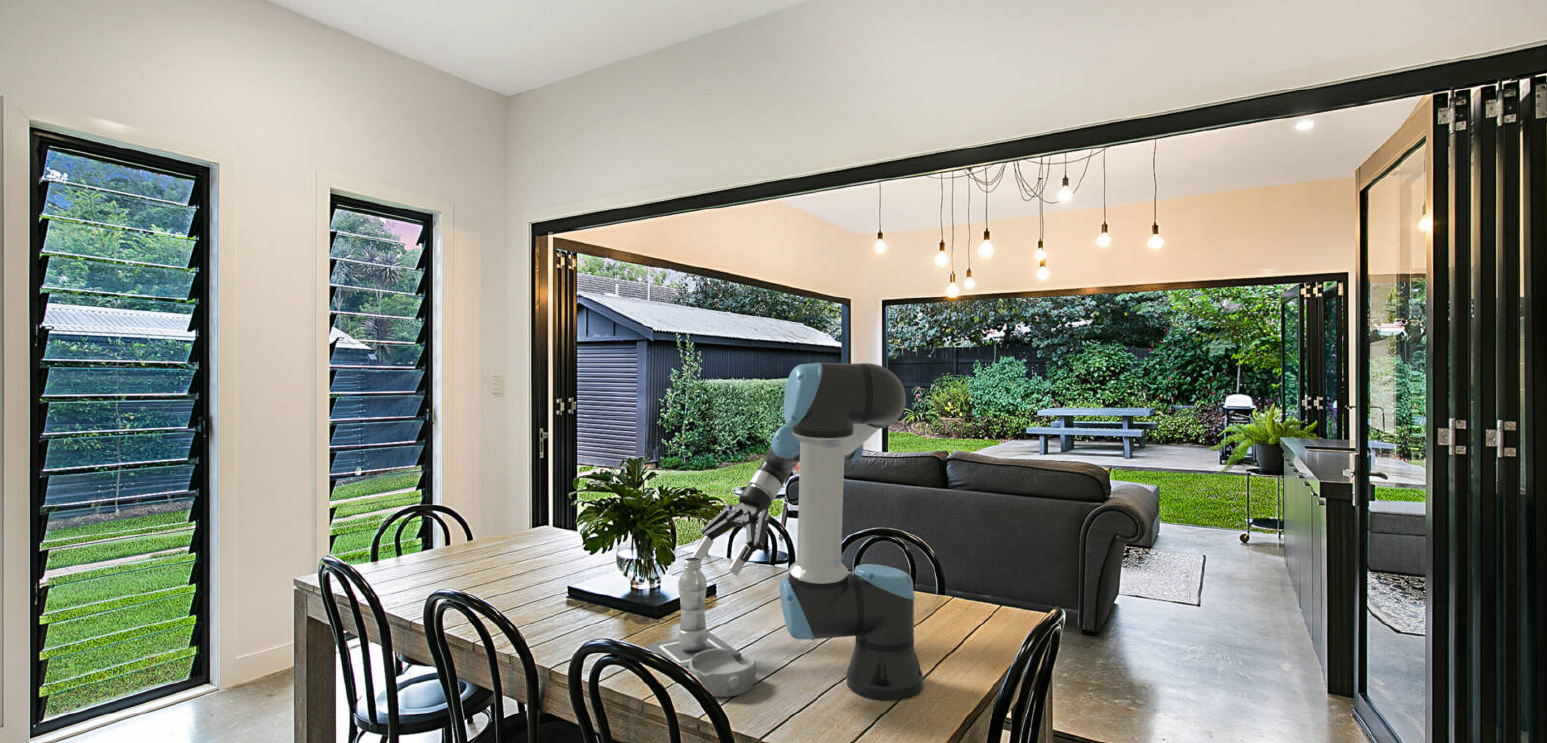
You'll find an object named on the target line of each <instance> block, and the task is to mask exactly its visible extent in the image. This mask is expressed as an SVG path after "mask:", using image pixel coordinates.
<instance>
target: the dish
mask: <svg viewBox="0 0 1547 743" xmlns="http://www.w3.org/2000/svg"><path fill="white" fill-rule="evenodd" d="M756 664H757V663H756V660H755V658H754V657H751V658H750V659H749V661H748V662H747V663H746V664H742V663H739V662H738V660H735V659H734V657H733V656H732V655H731V654H730V652H729V650H728V649H710V650H705V651H702V652H700V653H697V654H695V655H694V657H692V658H691V659H690V662H689V671H688V673H689V672H691V673H692V674H693V675H695V676H696V677H697V678H698V679H699V680H700V681H701V683H702V684H703V685H704V686H705V687H706V688H707V689H708V690H709V691H710V692H711V693H712V694H713V695H714V696H713V697H716V698H717V697H719V698H724V697H725V698H727V697H736V696H739V695H742V694H745V693H747V692H748V691H750V690H751V689H752V688H753V686H754V683H755V678H756V672H757V671H756V670H757V668H756V667H757V666H756Z"/></svg>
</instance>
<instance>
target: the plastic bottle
mask: <svg viewBox="0 0 1547 743" xmlns="http://www.w3.org/2000/svg"><path fill="white" fill-rule="evenodd" d="M701 568H702V561H701V559H700V558H691V557H687V558H684V564H683V569H685V570H684V572H682V575H681V576H680V577H679V579H678V583H677V584H678V586H677V587H678V588H677V589H678V595H679V600H680V601H679V602H680V623H679V624H680V625H679V626H680V627H679V630H678V638H677V639H678V640H679V645H680V647H681V648H682V649H683V650H686V651H697V650H701V649H703V648H704V647H705V646H706V644H707V640H708V634H707V632H708V629H707V622H706V614H705V613H706V612H705V611H706V610H705V609H706V595H707V587H708V581H707V578H706V577H705V574H704V573H703V572H702V570H701Z"/></svg>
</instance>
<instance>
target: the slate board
mask: <svg viewBox="0 0 1547 743" xmlns="http://www.w3.org/2000/svg"><path fill="white" fill-rule="evenodd" d="M707 634H708V640H707V644H706V646H705V647H704V648H703V649H701V650H697V651H686V650H683V649H682V648H681V647H680V645H679V640H678V638H674V639H669V640H668V639H667V640H664V641H658V642H654V643H650V644H646V645H645V649H646V648H648V649H650V650H652V651H654V652H656V653H660V654H661V655H663V656H665V657H667V658H670V659H671V660H673V661H675V662H676V663H678V664H680V665H681V666H682V667H685V668H687V669H688V670H689V662H690V659H691V658H692V657H694V655H695V654H697V653H700V652H702V651H705V650H710V649H728V650H729V652H730V654H731V655H732V656H733V657H734V659H735V660H736V661H738V660H742V653H741V652H740V651H738V650H737V649H735V648H734V647H732V646H730V645H729V644H728V643H726V642H725V641H723V640H722V639H720V638H719V637H717V636H716V635H714V634H713V633H711V632H708V631H707Z"/></svg>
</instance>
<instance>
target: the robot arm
mask: <svg viewBox="0 0 1547 743" xmlns="http://www.w3.org/2000/svg"><path fill="white" fill-rule="evenodd" d="M785 386H786V387H785V393H784V397H783V418H784V421H785V425H782V426H781V427H779V428H778V429H777V431H776V432H775V433H774V435H773V437H772V438H771V443H770V445H769V448H768V450H767V453H766V454H765V457H764V458H763V460H762V462H761V463H760V465H759V466H758V468H757V469H756V471H755V472H754V473H753V475H752V476H751V478H750V479H749V481H748V483H747V486H745V488H744V489H743V490H742V492H741V493H740V495H739V497H738V500H739V502H738V504H737V505H736V506H733V505H732V504H731V503H728V504H727V505H726V506H725V507H724V508H723V510H722V511H721V512H719V513H718V514H717V515H716V516H715V517H714V518H712V519H711V520H710V521H709V522H708V523H707V524H706V525H705V526H704V527H701V529H700V533H701V534H702V536H703V537H702V539H701V540H700V542H699V543H698V545H697V548H696V549H695V550H694V552H693V554H692V555H691V556H690V558H700V559H701V562H703V559H704V558H705V557H706V555H707V553H708V552H709V551H710V549H711V547H712V546H713V545H714V540H715V539H717V538H718V537H720V536H721V535H723V534H725V533H726V532H727V531H729V530H731V529H732V528H738V527H743V528H744V529H745V531H746V541H745V544H742V546H741V547H740V549H739V551H738V552H737V554H736V556H735V558H734V559H733V560H732V562H731V563H730V565H729V567H728V570H729V571H730V572H731V573H732V574H733V575H734V576H736V577H738V575H739V574H740V573H741V571H742V569H743V568H744V566H745V564H746V563H747V562H749V560H750V559H751V557H752V555H753V554H754V552H756V551H757V550H758V551H763V550H764V549H765V543H766V539H767V532H768V528H769V527H768V526H769V523H770V521H771V519H772V516H771V515H770V513H769V512H768V510H769V508H770V507H771V506H772V504H773V503H772V502H773V501H774V500H775V499H776V497H777V496H778V494H779V492H780V490H781V489H782V488H783V485H784V484H785V482H786V480H788V478H789V476H790V475H791V474H792V472H793V470H794V468H795V467H796V466H797V464H798V463H799V472H798V473H799V474H798V475H799V477H798V478H799V479H798V514H797V515H798V517H797V548H796V549H797V551H796V552H797V556H796V560H795V562H793V563H792V564H790V566H789V570H788V571H789V572H788V577H784V578H781V579H780V581H779V594H780V595H779V596H780V605H781V609H782V615H783V619H784V622H785V627H786V629H787V632H788V633H789V635H790V636H791V638H793V639H796V640H812V641H815V640H821V639H831V638H832V639H833V638H844V637H845V638H846V637H855V642H854V644H855V645H854V647H853V648H854V649H853V652H852V655H851V659H850V664H849V666H848V668H847V670H846V685H847V687H848V689H850V690H851V691H852V692H853V693H855V694H856V695H859V696H862V697H865V698H868V699H873V700H877V701H878V700H879V701H901V700H902V701H904V700H907V699H911V698H913V697H916V696H918V695H920V694H921V693H922V691H923V690H924V675H923V671H922V670H921V665H920V662H919V658H918V655H917V652H916V649H915V624H914V623H915V622H914V621H915V595H914V594H915V593H914V592H915V591H914V582H913V578H912V577H911V576H910V574H908V573H907V572H905V571H903V569H902V570H901V569H900V568H899V569H898V568H895V567H892V566H888V565H882V564H875V563H874V564H873V563H864V564H863V563H861V564H858V565H856V566H855V568H854V571H853V572H854V574H849V569H848V568H847V566H846V565H844V564H843V563H842V542H843V540H842V539H843V538H842V536H843V508H844V507H843V506H844V480H845V478H844V476H845V475H844V474H845V463H849V462H854V461H858V460H860V459H861V457H862V455H863V452H864V443H866V442H867V441H868V440H869V439H870V438H871V437H872V436H873V435H874V434H875V433H877V432H878V431H879V430H880V429H885V428H888V427H890V426H892V425H893V424H894V423H895V422H896V421H898V419H900V417H901V416H902V415H903V412H904V410H905V408H906V403H907V396H906V391H905V387H904V386H903V384H902V382H901V381H900V379H899V377H897V375H896V374H895V373H893V372H892V371H890V370H889V369H887V368H886V367H884V366H882V365H880V364H874V363H868V362H867V363H864V362H863V363H840V362H839V363H838V362H837V363H834V362H832V363H831V362H830V363H828V362H826V363H825V362H822V363H821V362H814V363H813V362H812V363H804V364H803V363H802V364H798V365H797V366H795V367H794V368H793V369H792V370H791V372H790V374H789V376H788V379H787V381H786V385H785Z"/></svg>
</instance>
